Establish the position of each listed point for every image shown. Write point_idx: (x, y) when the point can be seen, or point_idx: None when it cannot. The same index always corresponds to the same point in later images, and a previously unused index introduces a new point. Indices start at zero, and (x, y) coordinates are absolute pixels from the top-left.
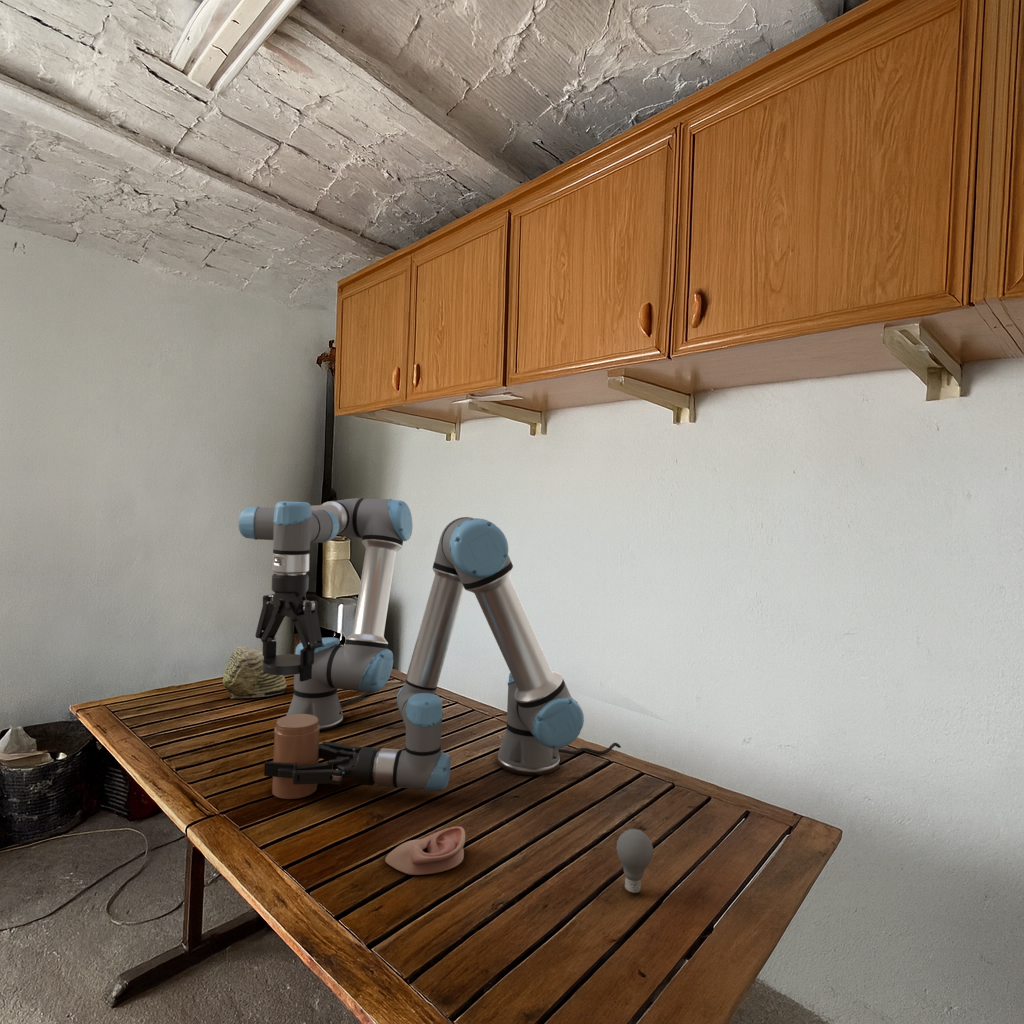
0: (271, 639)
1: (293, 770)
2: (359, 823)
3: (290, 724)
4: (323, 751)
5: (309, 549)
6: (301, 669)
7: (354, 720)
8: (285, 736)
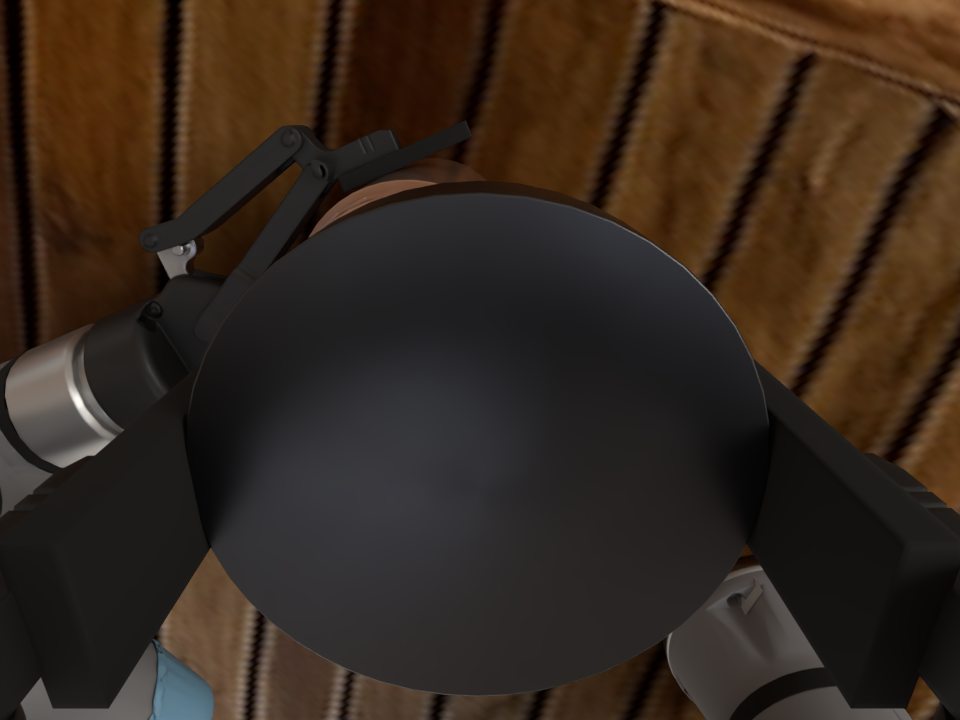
0: (944, 697)
1: (328, 158)
2: (73, 171)
3: None
4: None
5: None
6: (177, 398)
7: (650, 693)
8: (374, 184)
